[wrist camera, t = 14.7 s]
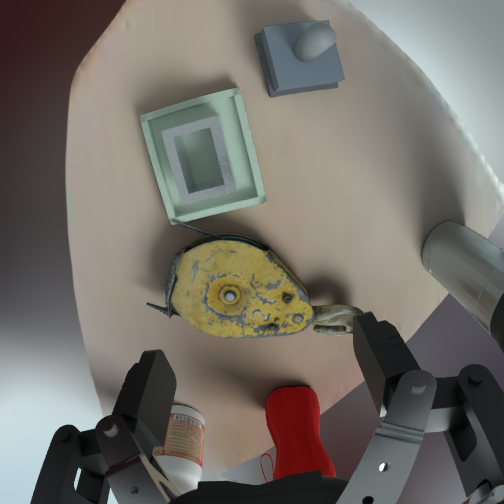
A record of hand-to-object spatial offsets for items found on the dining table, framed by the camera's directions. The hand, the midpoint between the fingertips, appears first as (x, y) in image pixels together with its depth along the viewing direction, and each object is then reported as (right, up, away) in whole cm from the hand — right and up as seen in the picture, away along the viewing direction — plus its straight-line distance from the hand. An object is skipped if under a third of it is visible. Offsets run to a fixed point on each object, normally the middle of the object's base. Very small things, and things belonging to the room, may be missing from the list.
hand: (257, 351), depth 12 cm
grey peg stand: (+5, +26, +18) cm, 32 cm away
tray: (-6, +15, +22) cm, 27 cm away
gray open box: (-6, +15, +21) cm, 27 cm away
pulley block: (+2, -1, +30) cm, 30 cm away
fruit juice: (-14, -29, +41) cm, 52 cm away
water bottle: (+6, -23, +40) cm, 47 cm away
